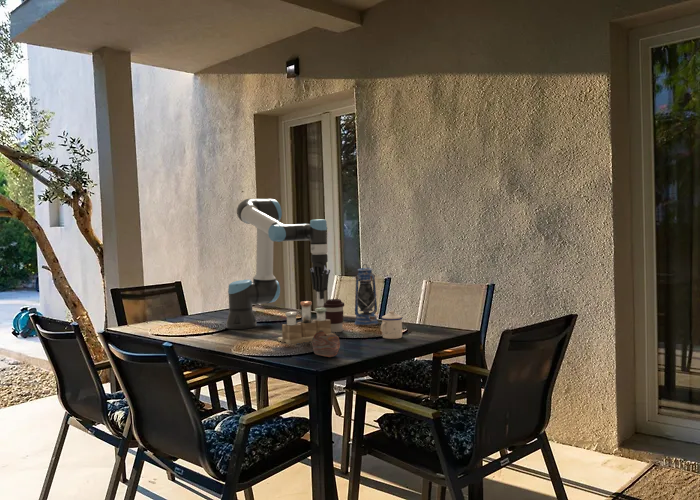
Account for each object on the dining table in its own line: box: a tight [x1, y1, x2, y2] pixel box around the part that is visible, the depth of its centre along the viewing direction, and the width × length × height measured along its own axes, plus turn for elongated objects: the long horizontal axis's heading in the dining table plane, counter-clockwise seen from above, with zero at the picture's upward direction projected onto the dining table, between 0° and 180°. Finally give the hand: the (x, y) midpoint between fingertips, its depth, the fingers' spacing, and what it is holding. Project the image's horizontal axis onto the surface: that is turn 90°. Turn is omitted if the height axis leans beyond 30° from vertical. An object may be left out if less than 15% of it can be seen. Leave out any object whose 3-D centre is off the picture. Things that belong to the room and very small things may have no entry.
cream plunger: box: [284, 311, 298, 326], centre depth 262 cm, size 5×5×10 cm
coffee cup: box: [322, 298, 345, 334], centre depth 284 cm, size 10×10×15 cm
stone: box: [311, 330, 341, 358], centre depth 231 cm, size 13×8×10 cm
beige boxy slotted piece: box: [277, 318, 337, 345], centre depth 267 cm, size 12×23×8 cm, turn 129°
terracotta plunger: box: [300, 300, 313, 323], centre depth 267 cm, size 5×5×10 cm
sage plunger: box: [314, 307, 326, 321], centre depth 272 cm, size 5×5×10 cm
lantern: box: [353, 263, 380, 326], centre depth 304 cm, size 15×12×30 cm
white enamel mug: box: [380, 310, 403, 340], centre depth 265 cm, size 12×9×12 cm
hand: (320, 305), depth 272 cm, fingers closed
